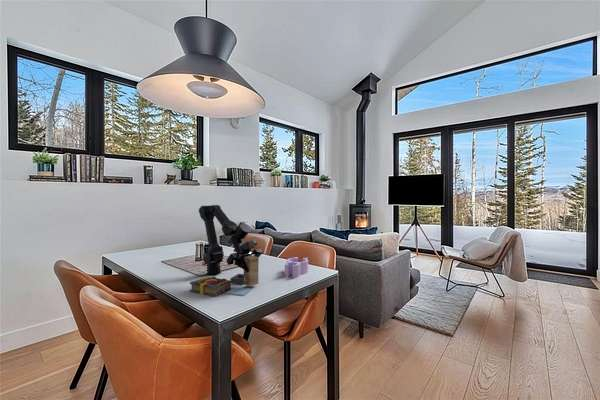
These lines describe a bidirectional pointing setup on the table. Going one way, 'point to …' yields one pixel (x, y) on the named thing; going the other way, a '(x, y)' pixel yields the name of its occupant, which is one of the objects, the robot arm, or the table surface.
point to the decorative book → (210, 286)
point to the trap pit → (238, 279)
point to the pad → (240, 291)
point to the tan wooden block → (251, 270)
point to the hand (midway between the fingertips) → (252, 270)
